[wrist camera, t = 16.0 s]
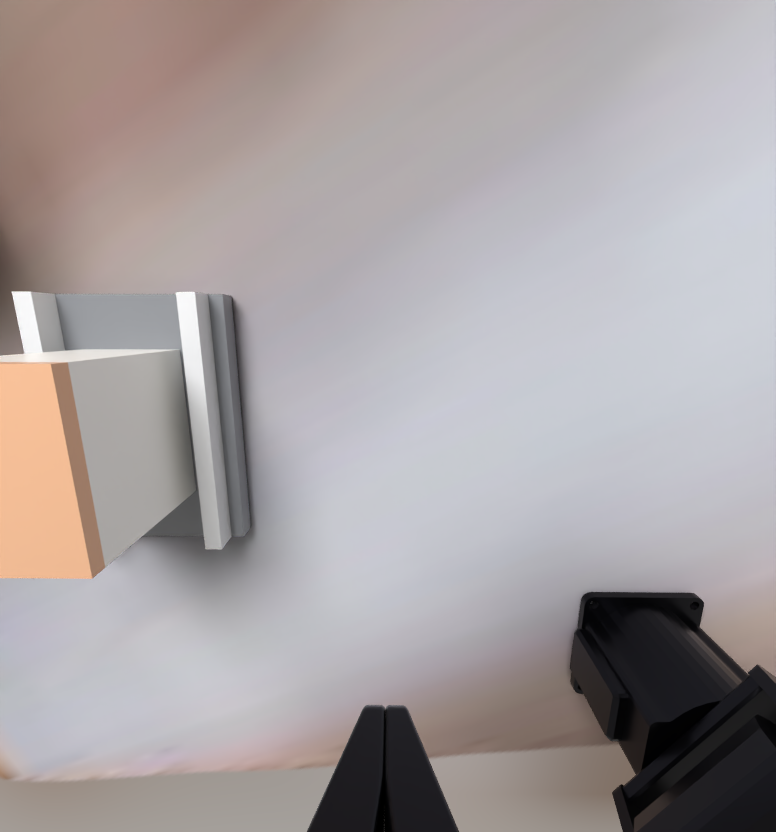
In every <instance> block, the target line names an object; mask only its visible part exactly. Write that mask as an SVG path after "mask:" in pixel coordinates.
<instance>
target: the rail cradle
mask: <svg viewBox="0 0 776 832" xmlns="http://www.w3.org/2000/svg"><path fill="white" fill-rule="evenodd" d="M12 295H13V300H14V305H15V310H16V315H17V319H18V324H19V329H20V334H21V339H22V344H23V349H24V353H25V354H29V353H42V352H55V351H68V350H81V349H164V350H180V357H181V365H182V374H183V382H184V391H185V399H186V408H187V416H188V425H189V433H190V442H191V450H192V459H193V467H194V476H195V484H196V491H195V492H194V493H193V494H192V495H190V496H189V497H188V498H187V499H186V500H184V501H183V502H182V503H181V504H180V505H179V506H177V507H176V508H175V509H174V510H173V511H171V512H170V513H169V514H168V515H167V516H166V517H164V518H163V519H162V520H161V521H160V522H158V523H157V524H156V525H155V526H154V527H153V528H151V529H150V530H149V531H148V532H147V533H145V534H144V535H143V536H204V542H205V549H220V550H222V549H223V547H224V546H225V545H226V543H227V542H228V541H229V539H230V538H231V537H244V536H245V535H246V533H247V532H248V530H249V529H250V527H251V522H250V510H249V499H248V487H247V475H246V463H245V451H244V439H243V428H242V416H241V404H240V392H239V380H238V368H237V357H236V345H235V333H234V321H233V309H232V297H231V296H229V295H224V294H204V293H198V292H176V294H51V293H40V292H12Z"/></svg>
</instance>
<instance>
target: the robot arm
mask: <svg viewBox="0 0 776 832" xmlns="http://www.w3.org/2000/svg"><path fill="white" fill-rule="evenodd" d="M592 601H594V602H593V603H592V604H590V603H591V602H592ZM691 603H692V604H691ZM703 607H704V602H703V601H702V600H701V599H700V598H699V597H698V596H697V595H695V594H694V593H628V592H590V593H586V594H585V595H584V596H583V597H582V599H581V605H580V613H579V621H578V628H577V630H576V631H575V633H574V640H573V648H572V655H571V663H570V669H571V671H572V673H571V685H572V687H573V689H574V690H575V692H577V693H579V694H584V696H585V697H586V699H587V701H588V703H589V705H590V707H591V709H592V711H593V713H594V715H595V717H596V718H597V720H598V722H599V724H600V726H601V728H602V730H603V732H604V734H605V735H606V736H607V737H608V739H609V740H610V741H618V742H619V744H620V746H621V748H622V750H623V751H624V753H625V755H626V757H627V759H628V761H629V762H630V764H631V766H632V768H633V770H634V772H635V774H636V776H634V777H633V778H632V779H631V780H630V781H629V782H628V783H626V784H625V785H624V786H623V785H620V786H619V787H617V788H616V789H615V790H614V791H613V792H612V794H613V798H614V801H615V805H616V808H617V812H618V815H619V819H620V823H621V826H622V830H623V832H776V677H775V676H773V675H772V674H771V673H769V672H768V671H766V670H765V669H764V668H762V667H761V666H759V665H758V664H757V665H756V666H755V667H754V668H753V669H752V670H750V671H749V672H748V674H749V675H748V674H747V673H746V672H745V671H744V670H743V669H742V668H741V667H740V666H739V665H738V664H737V663H736V662H735V661H734V660H733V659H732V658H731V657H729V656H728V655H727V654H726V653H725V652H724V651H723V650H722V649H721V648H720V647H719V646H718V645H717V644H716V643H715V642H714V641H713V640H712V639H711V638H710V637H709V636H708V635H707V634H706V633H705V632H704V631H703V630H702V629H701V628H700V627H699V626H700V621H701V616H702V612H703ZM307 832H459V831H458V828H457V826H456V824H455V821H454V819H453V816H452V814H451V812H450V809H449V807H448V804H447V802H446V800H445V797H444V795H443V792H442V791H441V788H440V785H439V783H438V781H437V778H436V776H435V773H434V771H433V769H432V766H431V764H430V761H429V759H428V757H427V754H426V752H425V750H424V747H423V745H422V742H421V740H420V738H419V735H418V733H417V730H416V728H415V726H414V723H413V721H412V718H411V716H410V714H409V711H408V709H407V708H406V707H405V706H403V705H389V706H387V707H386V710H385V708H384V706H382V705H366V706H365V707H364V708H363V710H362V712H361V714H360V716H359V718H358V721H357V723H356V725H355V727H354V729H353V732H352V734H351V736H350V738H349V740H348V743H347V745H346V747H345V749H344V751H343V754H342V756H341V758H340V760H339V762H338V764H337V767H336V769H335V771H334V773H333V775H332V778H331V780H330V782H329V784H328V787H327V789H326V791H325V793H324V795H323V797H322V800H321V802H320V804H319V806H318V808H317V811H316V813H315V815H314V818H313V819H312V822H311V824H310V826H309V828H308V830H307Z"/></svg>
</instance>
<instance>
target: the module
mask: <svg viewBox="0 0 776 832" xmlns="http://www.w3.org/2000/svg"><path fill="white" fill-rule="evenodd" d="M195 491H196V484H195V476H194V467H193V459H192V450H191V442H190V433H189V425H188V416H187V408H186V399H185V391H184V382H183V374H182V365H181V357H180V350H164V349H81V350H68V351H55V352H42V353H29V354H16V355H3V356H0V578H85V579H92V578H93V577H95V576H96V575H97V574H98V573H99V572H101V571H102V570H103V569H104V568H105V567H106V566H108V565H109V564H110V563H111V562H112V561H114V560H115V559H116V558H117V557H118V556H119V555H121V554H122V553H123V552H124V551H125V550H127V549H128V548H129V547H130V546H131V545H132V544H134V543H135V542H136V541H137V540H138V539H140V538H141V537H142V536H143V535H144V534H145V533H147V532H148V531H149V530H150V529H151V528H153V527H154V526H155V525H156V524H157V523H158V522H160V521H161V520H162V519H163V518H164V517H166V516H167V515H168V514H169V513H170V512H171V511H173V510H174V509H175V508H176V507H177V506H179V505H180V504H181V503H182V502H183V501H184V500H186V499H187V498H188V497H189V496H190V495H192V494H193V493H194V492H195Z"/></svg>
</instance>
